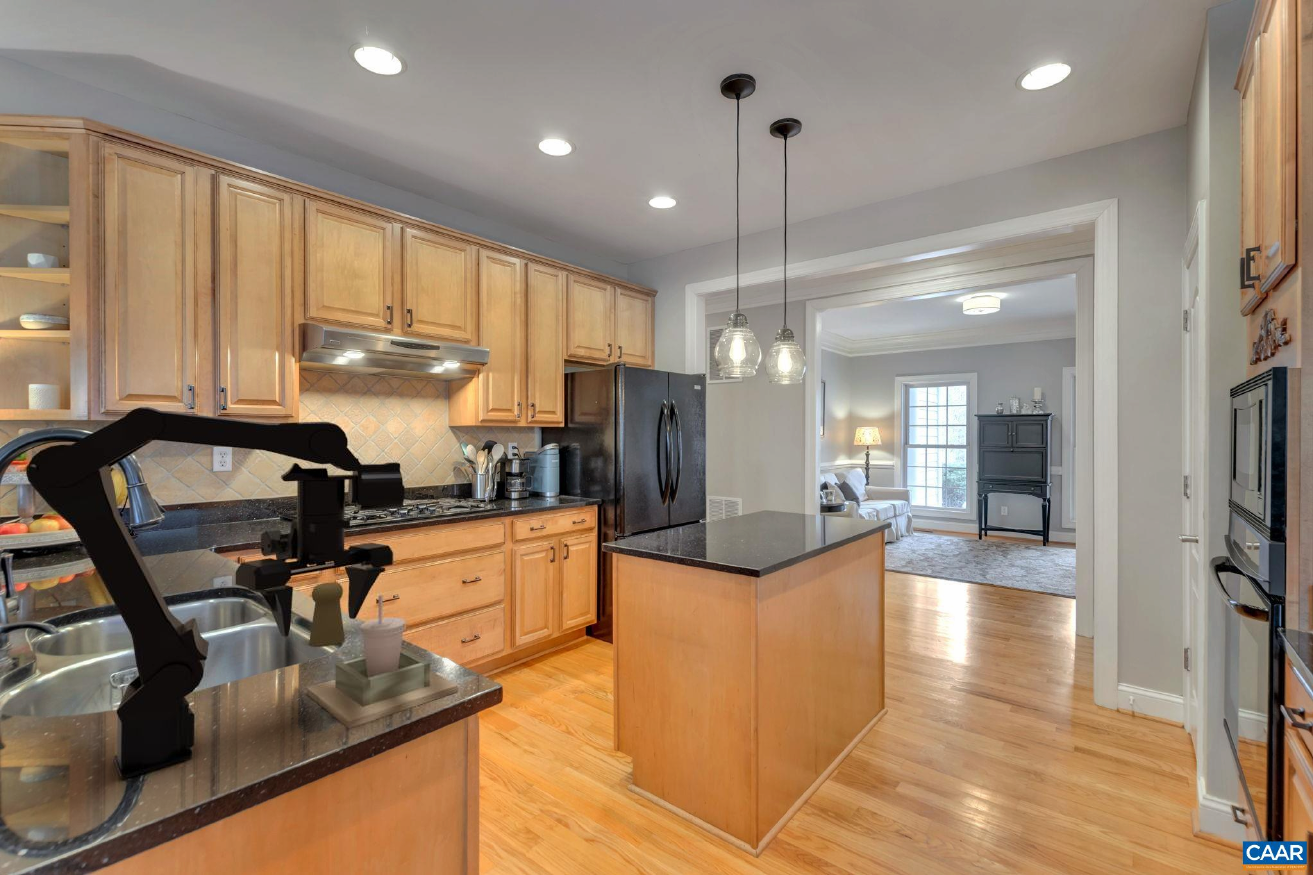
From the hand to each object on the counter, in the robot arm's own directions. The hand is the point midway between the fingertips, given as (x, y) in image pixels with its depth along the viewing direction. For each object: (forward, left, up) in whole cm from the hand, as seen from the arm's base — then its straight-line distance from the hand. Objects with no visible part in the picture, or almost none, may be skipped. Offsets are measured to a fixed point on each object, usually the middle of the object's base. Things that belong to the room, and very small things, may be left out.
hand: (320, 626), depth 82 cm
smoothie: (+10, +3, -12) cm, 16 cm away
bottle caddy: (+10, +3, -13) cm, 17 cm away
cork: (+13, +34, -13) cm, 39 cm away
